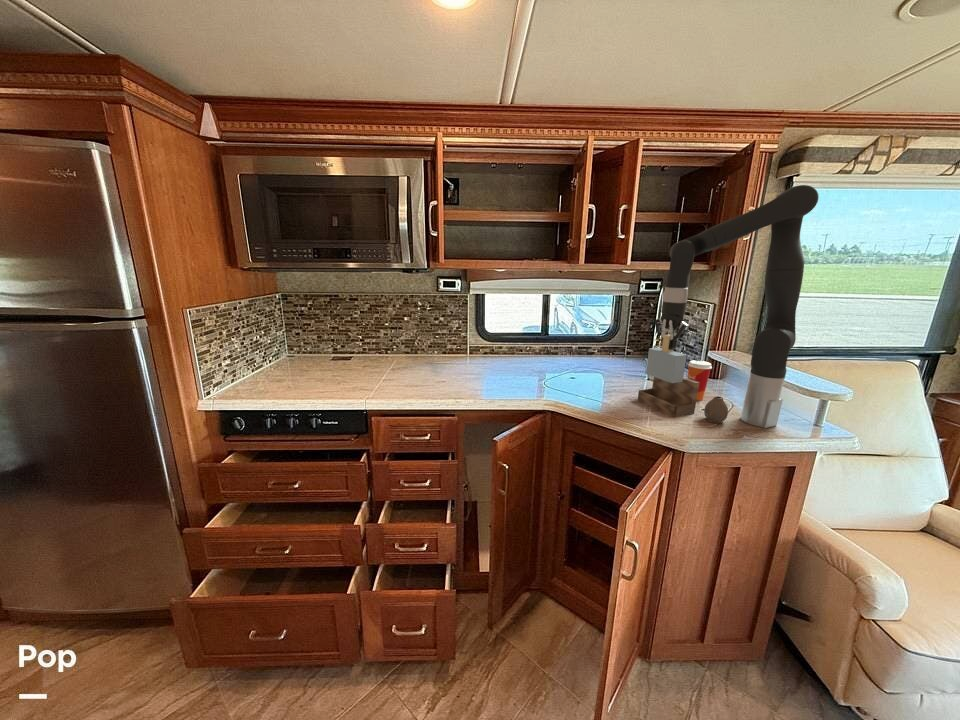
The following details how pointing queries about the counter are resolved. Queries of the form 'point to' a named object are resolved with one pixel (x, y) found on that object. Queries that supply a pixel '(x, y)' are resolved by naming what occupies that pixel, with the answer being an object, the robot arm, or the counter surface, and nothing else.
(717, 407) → the brown rounded pot shape
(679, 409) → the brown wooden box
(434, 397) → the counter surface
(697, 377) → the coffee cup
